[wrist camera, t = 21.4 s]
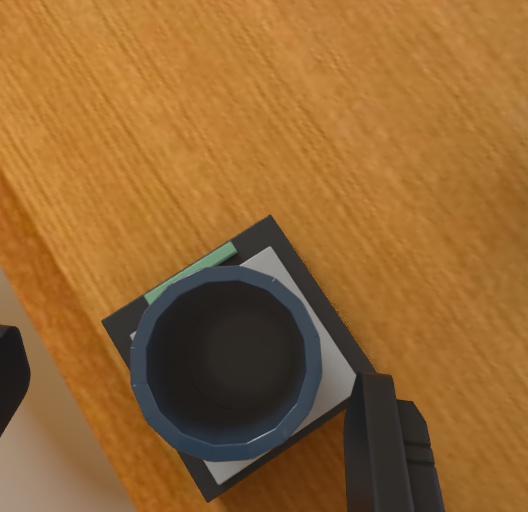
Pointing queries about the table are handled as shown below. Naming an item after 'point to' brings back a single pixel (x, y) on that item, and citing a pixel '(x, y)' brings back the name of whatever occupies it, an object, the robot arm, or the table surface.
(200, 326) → the cup
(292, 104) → the table surface
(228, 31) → the table surface
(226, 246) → the scale
